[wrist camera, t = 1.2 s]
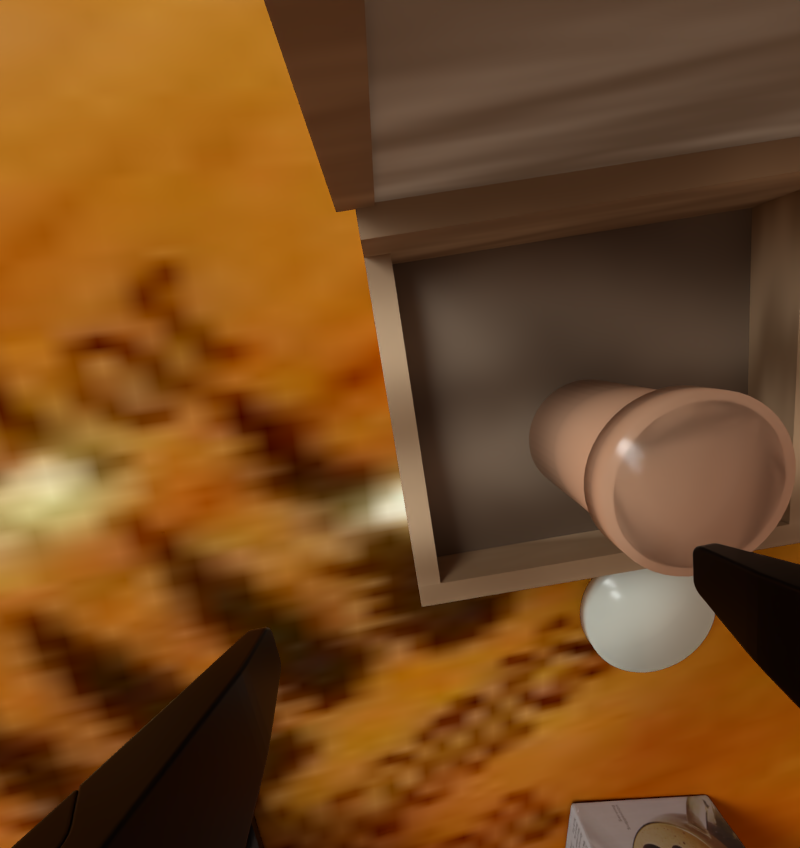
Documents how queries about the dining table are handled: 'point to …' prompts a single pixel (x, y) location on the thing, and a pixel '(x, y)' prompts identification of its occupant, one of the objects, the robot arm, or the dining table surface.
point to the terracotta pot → (667, 466)
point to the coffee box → (650, 824)
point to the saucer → (644, 619)
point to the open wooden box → (555, 237)
